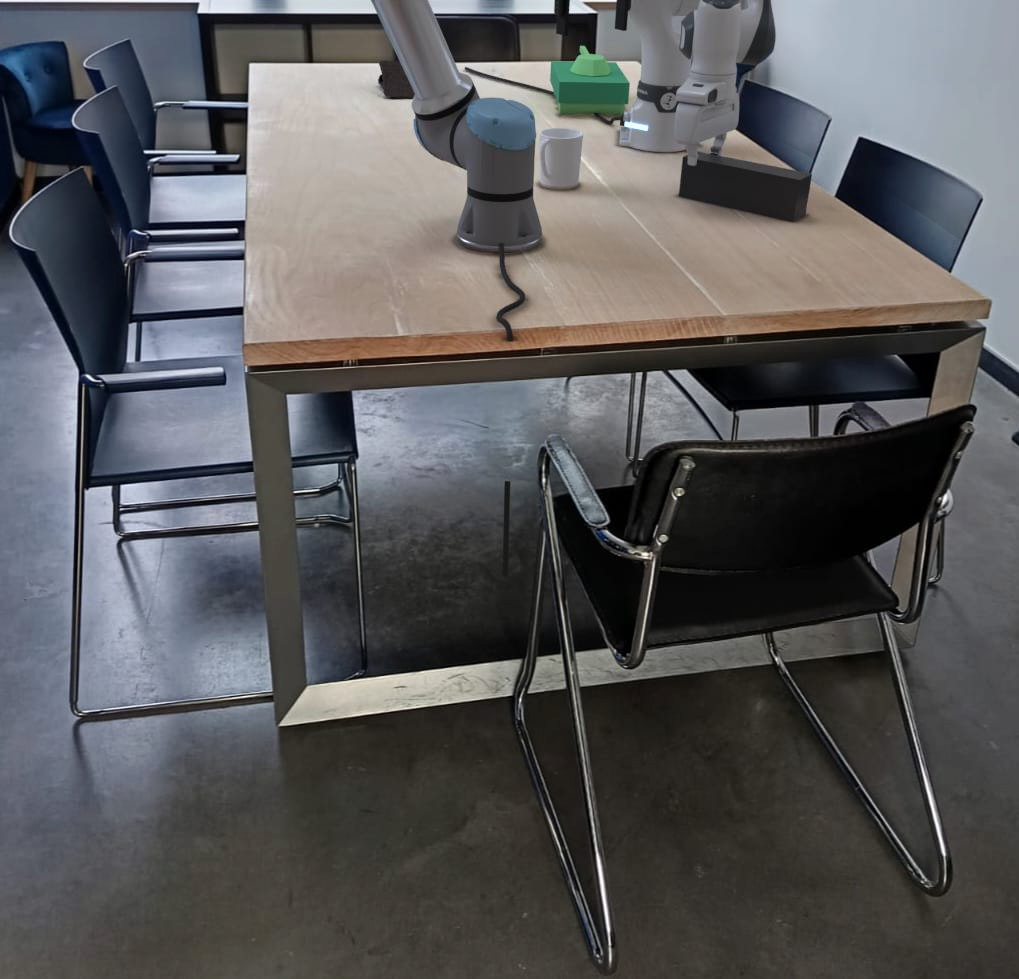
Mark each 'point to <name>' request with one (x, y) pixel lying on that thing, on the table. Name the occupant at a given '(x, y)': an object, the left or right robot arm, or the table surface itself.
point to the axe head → (394, 80)
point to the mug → (560, 157)
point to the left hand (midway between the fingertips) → (591, 32)
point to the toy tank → (589, 85)
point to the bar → (746, 186)
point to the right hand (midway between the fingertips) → (704, 160)
